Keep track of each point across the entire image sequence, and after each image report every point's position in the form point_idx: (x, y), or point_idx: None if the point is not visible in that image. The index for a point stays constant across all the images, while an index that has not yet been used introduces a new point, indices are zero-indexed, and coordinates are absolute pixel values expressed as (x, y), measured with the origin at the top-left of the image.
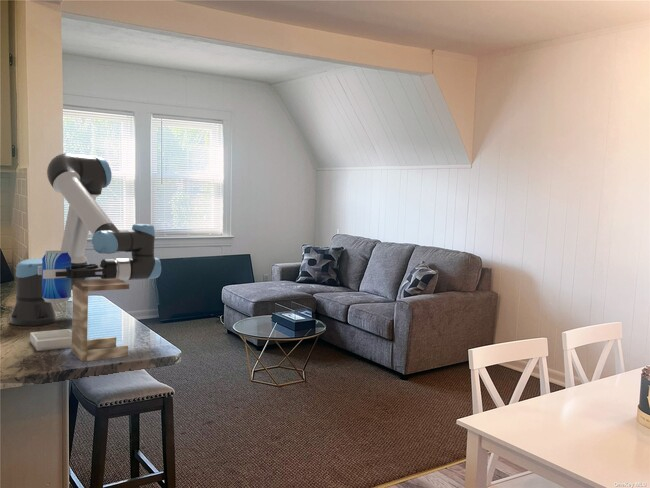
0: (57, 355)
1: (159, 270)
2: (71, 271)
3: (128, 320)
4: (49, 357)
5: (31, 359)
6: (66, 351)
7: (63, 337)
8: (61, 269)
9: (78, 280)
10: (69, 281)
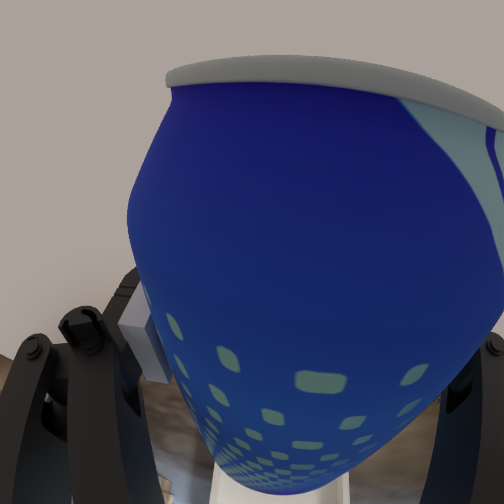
0: (154, 439)
1: None
2: (33, 340)
3: None
4: (149, 419)
5: (160, 385)
6: (177, 471)
7: (320, 498)
8: (138, 287)
9: (1, 387)
10: (215, 449)
